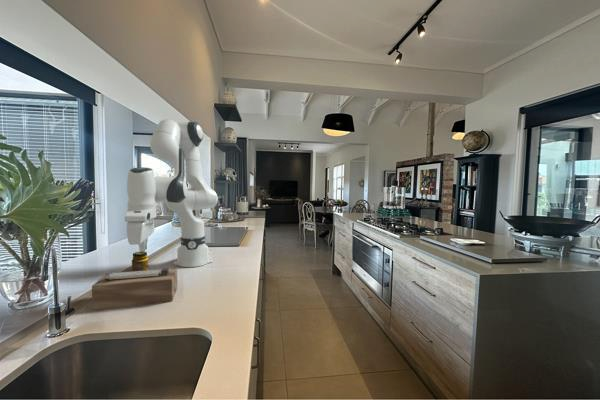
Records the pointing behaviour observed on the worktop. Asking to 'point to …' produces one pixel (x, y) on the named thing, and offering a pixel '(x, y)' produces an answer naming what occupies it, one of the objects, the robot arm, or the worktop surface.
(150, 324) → the worktop surface
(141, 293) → the walnut case
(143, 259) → the condiment
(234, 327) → the worktop surface
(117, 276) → the latch bar
